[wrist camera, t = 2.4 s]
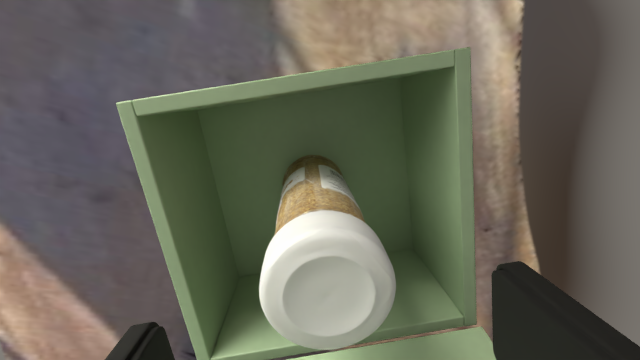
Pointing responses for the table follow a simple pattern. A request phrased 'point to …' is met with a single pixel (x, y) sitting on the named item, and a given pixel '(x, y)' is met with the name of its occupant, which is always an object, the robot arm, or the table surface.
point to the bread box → (266, 186)
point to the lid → (421, 348)
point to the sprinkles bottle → (324, 262)
